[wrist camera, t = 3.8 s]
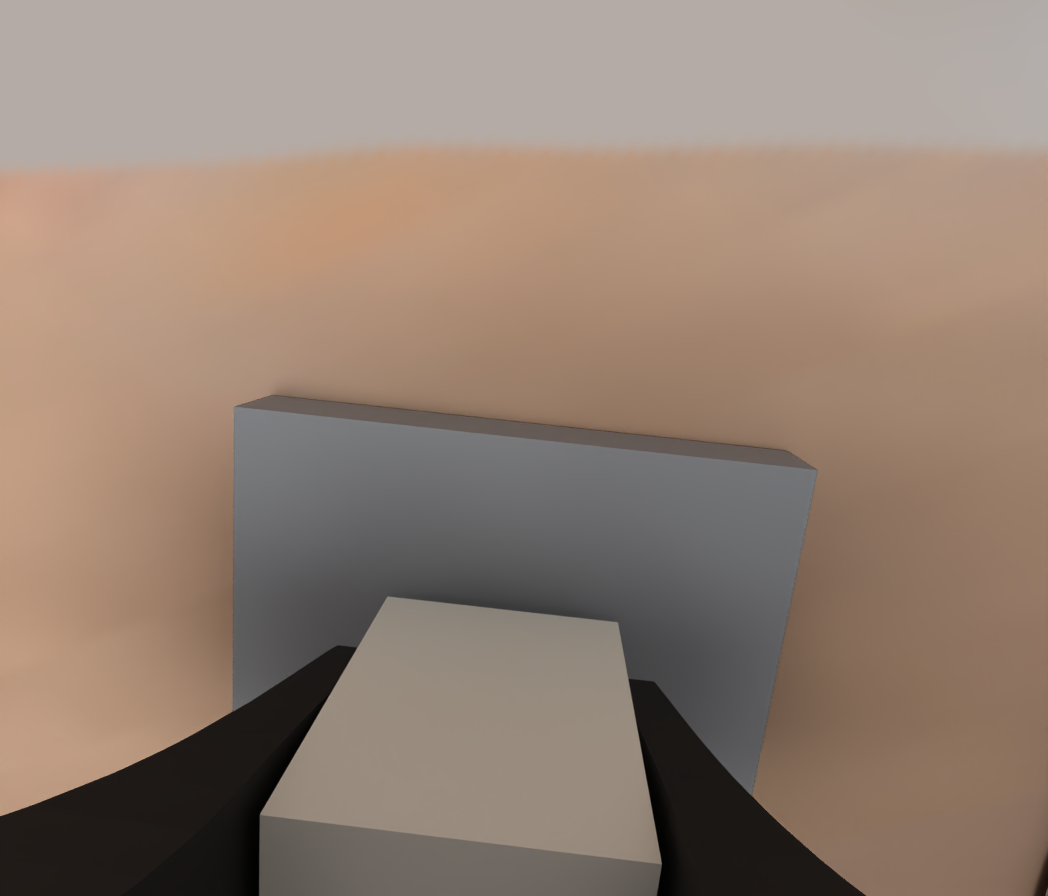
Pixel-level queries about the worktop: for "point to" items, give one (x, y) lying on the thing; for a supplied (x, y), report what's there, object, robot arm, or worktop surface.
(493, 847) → the cream block
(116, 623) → the worktop surface
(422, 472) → the grey deck
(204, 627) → the worktop surface
